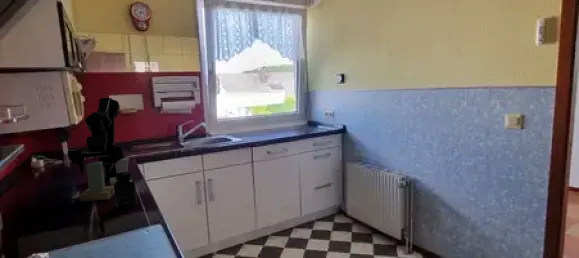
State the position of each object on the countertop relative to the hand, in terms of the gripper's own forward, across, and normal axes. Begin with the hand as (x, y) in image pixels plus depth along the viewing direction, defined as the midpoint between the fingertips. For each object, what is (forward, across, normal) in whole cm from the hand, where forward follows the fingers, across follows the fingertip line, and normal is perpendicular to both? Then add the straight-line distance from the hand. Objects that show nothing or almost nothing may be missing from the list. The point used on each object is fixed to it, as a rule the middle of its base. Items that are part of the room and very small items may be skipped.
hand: (95, 172), depth 127 cm
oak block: (+6, 0, +8) cm, 10 cm away
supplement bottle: (+18, +12, -4) cm, 22 cm away
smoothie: (-10, +5, +24) cm, 26 cm away
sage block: (+4, 0, +6) cm, 8 cm away
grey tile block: (-1, +6, +15) cm, 17 cm away
